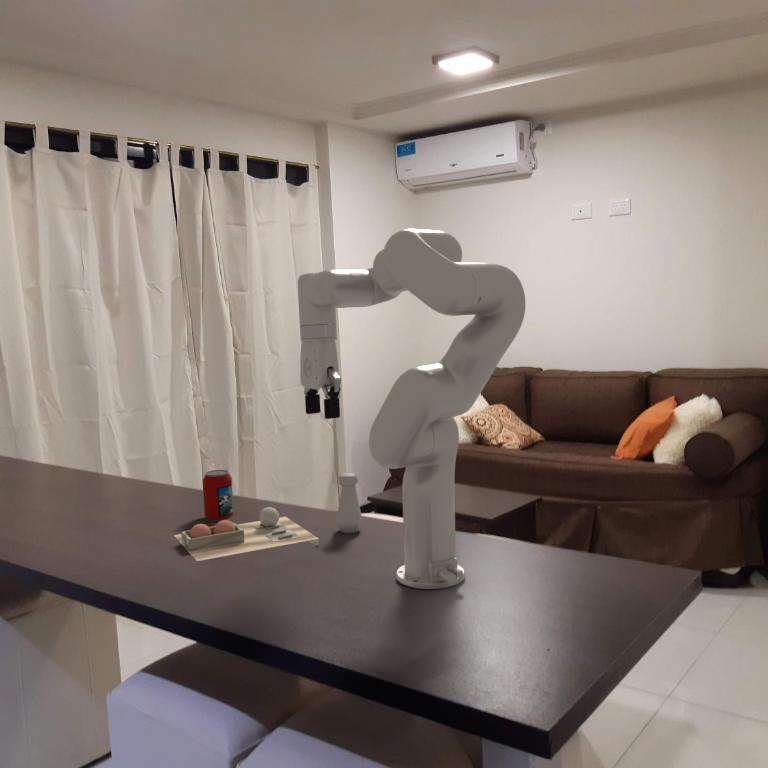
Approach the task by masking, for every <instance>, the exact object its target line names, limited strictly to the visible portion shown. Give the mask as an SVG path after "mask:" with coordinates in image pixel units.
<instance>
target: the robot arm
mask: <svg viewBox="0 0 768 768" xmlns="http://www.w3.org/2000/svg"><path fill="white" fill-rule="evenodd" d="M462 260H463V250H462V247H461V244H460V242H459V241H458V240H457V239H456V238H455V237H454V235H452V234H451V233H448V232H446V231H444V230H443V231H442V230H435V229H433V230H432V229H419V228H418V229H417V228H406V229H401V230H399V231H396V232H395V233H393V234H392V235H391V237H389V238H388V240H387V241H386V242H385V245H384V247H383V249H381V250H380V251H378V252H377V254H376V255H375V256H374V259H373V263H372V267H370V268H365V269H327V270H321V271H320V272H312V273H311V272H310V273H309V272H308V273H303V274H300V276H298V279H297V299H298V313H299V314H298V316H299V317H298V318H299V336H300V338H299V339H300V342H301V343H300V344H301V345H300V360H299V361H300V363H299V368H300V369H299V370H300V372H299V373H300V384H301V387H303V388H304V390H303V393H304V400H305V401H304V402H305V403H304V404H305V405H304V406H305V413H306V415H314V414H319V413H321V396H320V393H319V391H320V390H321V389H322V392H323V395H324V397H325V398H324V399H323V410H324V411H323V412H324V413H323V414H324V418H325V419H326V420H330V419H338V418H340V417H341V409H340V397H341V393H340V392H341V383H342V378H341V376H340V373H339V372H340V371H339V359H338V352H337V345H336V344H337V343H336V341H337V340H338V333H337V330H338V329H337V314H336V313H337V310H336V309H345V308H367V307H372V306H375V305H378V304H379V305H380V304H382V303H385V302H389V301H391V300H394V299H396V298H398V297H399V296H400V295H401V294H402V293H403V292H406V291H408V292H409V293H411V294H412V295H413V296H415V297H416V298H417V299H418V300H419V301H421V302H423V304H425V305H426V306H427V307H428V308H430V309H431V310H432V311H434V312H436V313H439V314H441V315H445V316H449V317H453V316H456V317H457V316H472V315H474V316H473V317H472V319H471V320H470V321H469V322H468V323H467V324H466V325H465V326H464V327H463V328H462V329H461V330H460V331H459V332H458V333H457V334H456V335H455V337H454V339H453V340H452V342H451V344H450V345H449V347H448V350H447V351H446V352H445V354H444V355H443V357H442V358H441V359H440V360H439V361H438V362H436V363H433V364H425V365H420V366H415V367H412V368H409V369H407V370H406V371H404V372H403V373H402V374H401V375H400V376H399V377H398V378H397V379H396V380H395V382H394V383H393V386H391V389H390V391H389V393H388V394H387V397H386V398H385V400H384V402H383V404H382V406H381V408H380V409H379V411H378V414H377V415H376V416H375V419H374V421H373V423H372V425H371V428H370V432H369V437H368V445H369V451H370V455H371V457H372V458H373V460H374V461H375V462H376V463H377V464H378V465H380V466H381V467H383V468H385V469H391V470H395V469H397V470H398V469H402V468H405V470H404V474H403V478H402V525H403V529H402V530H403V554H404V555H403V556H404V557H403V558H404V559H403V560H404V565H401V566H400V567H399V568H398V569H397V570H396V572H395V574H396V581H398V582H399V583H400V584H402V585H404V586H407V587H409V588H412V589H419V590H420V589H421V590H439V589H440V590H441V589H447V588H450V587H454V586H456V585H459V584H460V583H462V582H463V581H464V580H465V573H466V572H465V569H464V568H463V567H462V566H460V565H459V564H458V558H457V557H456V556H457V555H456V554H457V552H456V551H457V550H456V549H457V548H456V513H455V512H456V508H455V506H456V505H455V504H456V503H455V495H456V494H455V489H456V488H455V487H456V486H455V477H456V476H455V473H456V472H455V470H456V461H457V459H456V458H457V454H458V449H459V438H460V433H459V427H458V424H457V422H456V419H455V418H454V417H459V416H462V415H464V414H466V413H467V412H468V411H470V410H471V408H472V407H473V406H474V404H475V403H476V401H477V400H478V398H479V396H480V395H481V393H482V391H483V390H484V388H485V387H486V385H487V383H488V382H489V380H490V378H491V377H492V375H493V373H494V372H495V370H496V368H497V366H498V365H499V363H500V361H501V360H502V358H503V357H504V355H505V354H506V352H507V351H508V349H509V347H510V346H511V345H512V344H513V342H514V340H515V338H516V337H517V335H518V333H519V332H520V329H521V327H522V324H523V321H524V318H525V314H526V296H525V295H526V294H525V290H524V287H523V284H522V282H521V279H519V277H518V275H517V274H516V273H515V272H514V271H513V270H512V269H510V268H509V267H506V266H504V265H501V264H497V263H492V262H462Z"/></svg>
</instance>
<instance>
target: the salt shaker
mask: <svg viewBox="0 0 768 768" xmlns="http://www.w3.org/2000/svg"><path fill="white" fill-rule="evenodd" d="M337 478H338V479H337V480H338V485H339V486H341V488H340V489H341V490H340V495H339V501H338V507H337V513H336V520H335V521H336V524H337V526H338V528H339V531H340V532H341V533H344V534H354V533H357V532H358V531H360V528H361V525H362V523H363V516H362V512H361V506H360V502H359V498H358V492H357V488H356V487H357V486H356V485H357V484H358V481H359V480H358V475H357V474H356V473H353V472H344V473H341V474H340V475H338V477H337Z"/></svg>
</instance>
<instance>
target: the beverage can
mask: <svg viewBox="0 0 768 768" xmlns="http://www.w3.org/2000/svg"><path fill="white" fill-rule="evenodd" d="M204 474H205V475H204V476H203V479H202V489H203V490H202V491H203V492H202V494H203V507H204V508H203V510H204V518H205V519H207V520H213V521H215V520H226V519H228V518H232V517H233V516H234V514H235V513H234V497H233V480H232V479H233V478H232V476H231V475H230V473H229V470H227V469H216V470H214V469H213V470H209V471H206V472H205V473H204Z"/></svg>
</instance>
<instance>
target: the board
mask: <svg viewBox="0 0 768 768" xmlns="http://www.w3.org/2000/svg"><path fill="white" fill-rule="evenodd" d="M232 523H233V524H234V526H235V531H232V532H226V533H220V534H215V533H214V529H215V526H216V525H214V526H208V527H209V529H210V531H211V535H209V536H203V537H197V538H190V531H191V529H189V530H183V531H181V532H180V533H179V534H174V535H173V536H174V537H175V538H176V540H177V541H178V542H179V544H181V545H182V546H183V548H184V549H185V550H186V551H187V552H188V553H189V554H190V555H191V557H192V558H193V559H194V560H195V561H196V562H200V561H201V562H202V561H207V560H210V559H211V560H212V559H216V558H217V559H219V558H224V557H229V556H234V555H238V554H239V555H240V554H245V553H249V552H255V551H261V550H265V549H266V550H267V549H271V548H277V547H283V546H286V545H292V544H299V543H303V542H309V544H311V545H312V546H314V547H318V546H320V538H319V537H317V536H315V535H314V534H313V533H311V532H310V531H308V530H307V529H304V528H303V527H302V526H301V525H299V524H298V523H296V522H294V521H293V520H292V519H290V518H288V517H287V516H282V517H281V516H279V520H278V522H277V524H276V525H274V526H270V527H266V526H264V525H263V524H262V523H261V522H260V520H258V521H251V522H246V523H240V524H237V523H236V522H232Z"/></svg>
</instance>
